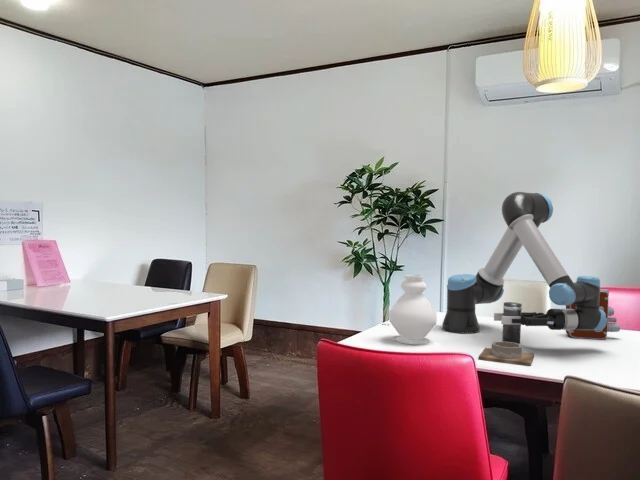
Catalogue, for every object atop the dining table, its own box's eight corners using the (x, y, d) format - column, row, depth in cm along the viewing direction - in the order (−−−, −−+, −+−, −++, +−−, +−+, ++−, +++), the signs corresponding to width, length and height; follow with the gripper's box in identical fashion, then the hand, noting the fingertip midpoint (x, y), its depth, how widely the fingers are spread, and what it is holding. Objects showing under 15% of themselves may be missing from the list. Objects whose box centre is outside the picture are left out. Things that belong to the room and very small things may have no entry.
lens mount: (478, 359, 168) (478, 345, 168) (485, 350, 181) (485, 337, 180) (530, 366, 161) (531, 351, 161) (533, 356, 173) (534, 343, 173)
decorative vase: (380, 337, 200) (382, 273, 199) (419, 334, 206) (421, 273, 205) (404, 347, 183) (405, 278, 182) (445, 344, 189) (447, 277, 189)
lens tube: (501, 343, 181) (502, 303, 180) (503, 339, 186) (504, 301, 186) (519, 345, 178) (521, 305, 178) (521, 341, 184) (522, 303, 183)
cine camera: (623, 341, 200) (624, 290, 199) (569, 338, 204) (571, 288, 203) (614, 336, 209) (616, 288, 208) (563, 334, 213) (565, 286, 212)
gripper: (575, 335, 174) (509, 334, 172) (547, 324, 193) (487, 323, 191) (576, 313, 173) (509, 312, 172) (547, 304, 192) (488, 303, 191)
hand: (498, 318), depth 182 cm, fingers closed on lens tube, 6 cm apart
